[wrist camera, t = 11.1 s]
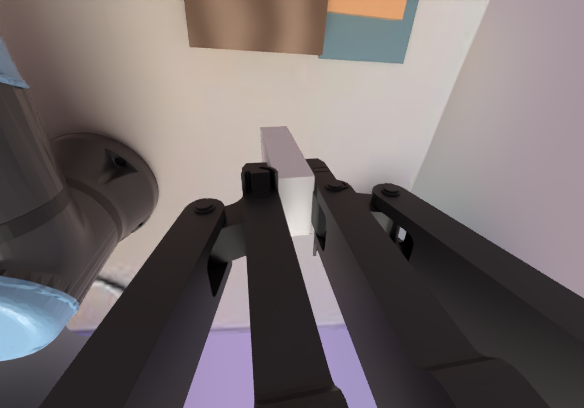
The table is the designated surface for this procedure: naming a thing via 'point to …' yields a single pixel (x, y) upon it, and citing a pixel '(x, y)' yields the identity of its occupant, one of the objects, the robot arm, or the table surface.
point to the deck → (258, 25)
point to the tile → (369, 8)
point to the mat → (368, 37)
